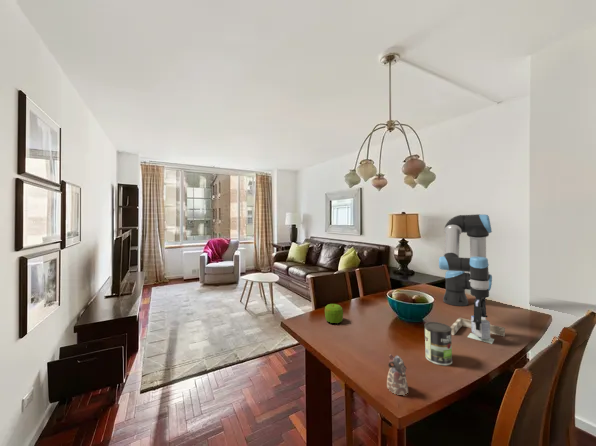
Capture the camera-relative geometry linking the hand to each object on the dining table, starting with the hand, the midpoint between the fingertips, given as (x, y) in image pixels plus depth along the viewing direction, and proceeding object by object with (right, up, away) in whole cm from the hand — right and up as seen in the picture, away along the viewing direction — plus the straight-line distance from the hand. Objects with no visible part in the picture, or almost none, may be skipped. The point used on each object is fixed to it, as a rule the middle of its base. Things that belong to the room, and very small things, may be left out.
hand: (480, 332), depth 124 cm
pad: (0, -3, 0) cm, 3 cm away
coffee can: (-31, -4, -17) cm, 35 cm away
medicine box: (0, -2, 0) cm, 2 cm away
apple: (-70, -5, +26) cm, 75 cm away
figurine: (-56, -5, -35) cm, 66 cm away
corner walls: (+1, -3, +4) cm, 5 cm away
